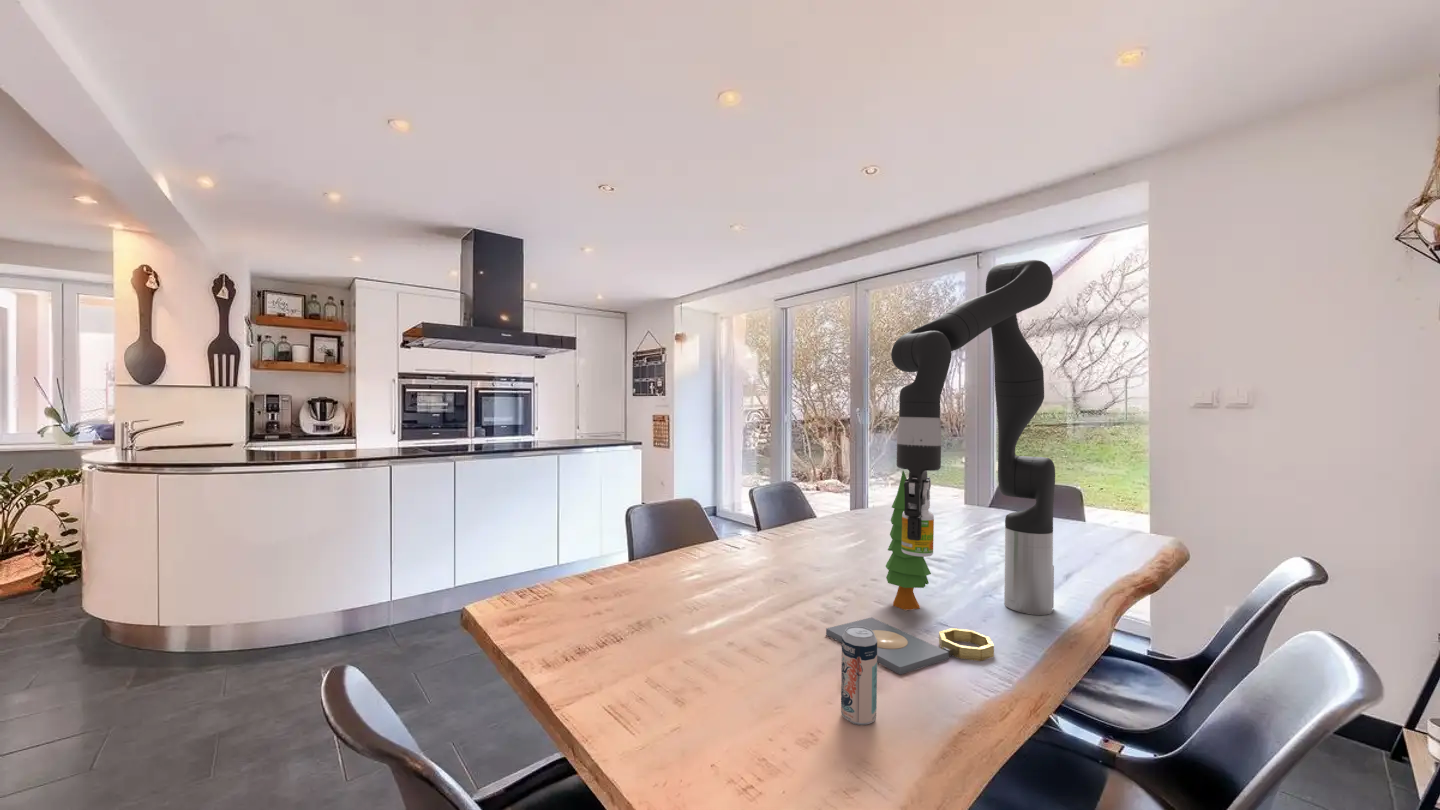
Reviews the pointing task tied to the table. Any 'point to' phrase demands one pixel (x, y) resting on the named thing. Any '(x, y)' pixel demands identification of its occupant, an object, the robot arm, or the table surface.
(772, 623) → the table surface
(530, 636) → the table surface
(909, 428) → the robot arm
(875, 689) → the beer can
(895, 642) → the board
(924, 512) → the supplement bottle
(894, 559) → the decorative tree
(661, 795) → the table surface
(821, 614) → the table surface
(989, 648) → the collar
